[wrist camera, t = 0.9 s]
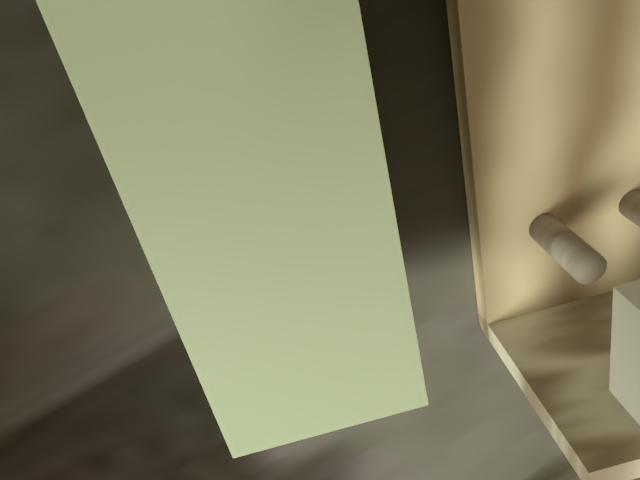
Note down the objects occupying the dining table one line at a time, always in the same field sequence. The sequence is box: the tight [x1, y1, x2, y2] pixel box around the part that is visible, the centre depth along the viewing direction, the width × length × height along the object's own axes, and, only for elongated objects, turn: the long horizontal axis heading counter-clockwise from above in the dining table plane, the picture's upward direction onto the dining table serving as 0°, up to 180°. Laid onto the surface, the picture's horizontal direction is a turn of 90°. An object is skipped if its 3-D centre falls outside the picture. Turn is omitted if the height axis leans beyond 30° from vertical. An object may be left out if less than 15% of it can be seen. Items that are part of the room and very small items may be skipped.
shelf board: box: [36, 0, 428, 458], centre depth 21 cm, size 9×22×2 cm, turn 12°
